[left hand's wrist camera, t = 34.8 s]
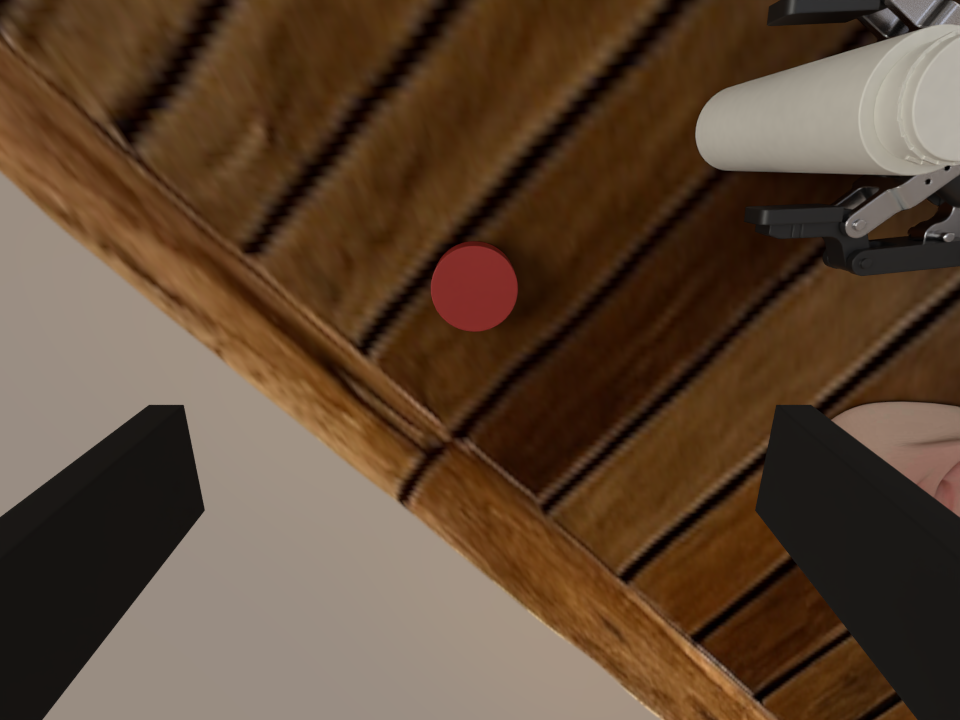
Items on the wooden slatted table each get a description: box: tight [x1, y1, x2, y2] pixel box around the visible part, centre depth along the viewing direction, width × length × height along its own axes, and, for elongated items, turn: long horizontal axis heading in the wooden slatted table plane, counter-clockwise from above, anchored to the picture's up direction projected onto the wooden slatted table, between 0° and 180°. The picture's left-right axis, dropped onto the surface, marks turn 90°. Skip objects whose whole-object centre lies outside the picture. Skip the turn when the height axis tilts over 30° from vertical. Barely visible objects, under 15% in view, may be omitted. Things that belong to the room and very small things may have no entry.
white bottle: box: [696, 24, 960, 176], centre depth 24 cm, size 4×4×16 cm
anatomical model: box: [832, 402, 960, 517], centre depth 36 cm, size 13×4×12 cm
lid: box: [431, 241, 518, 331], centre depth 33 cm, size 5×5×2 cm
